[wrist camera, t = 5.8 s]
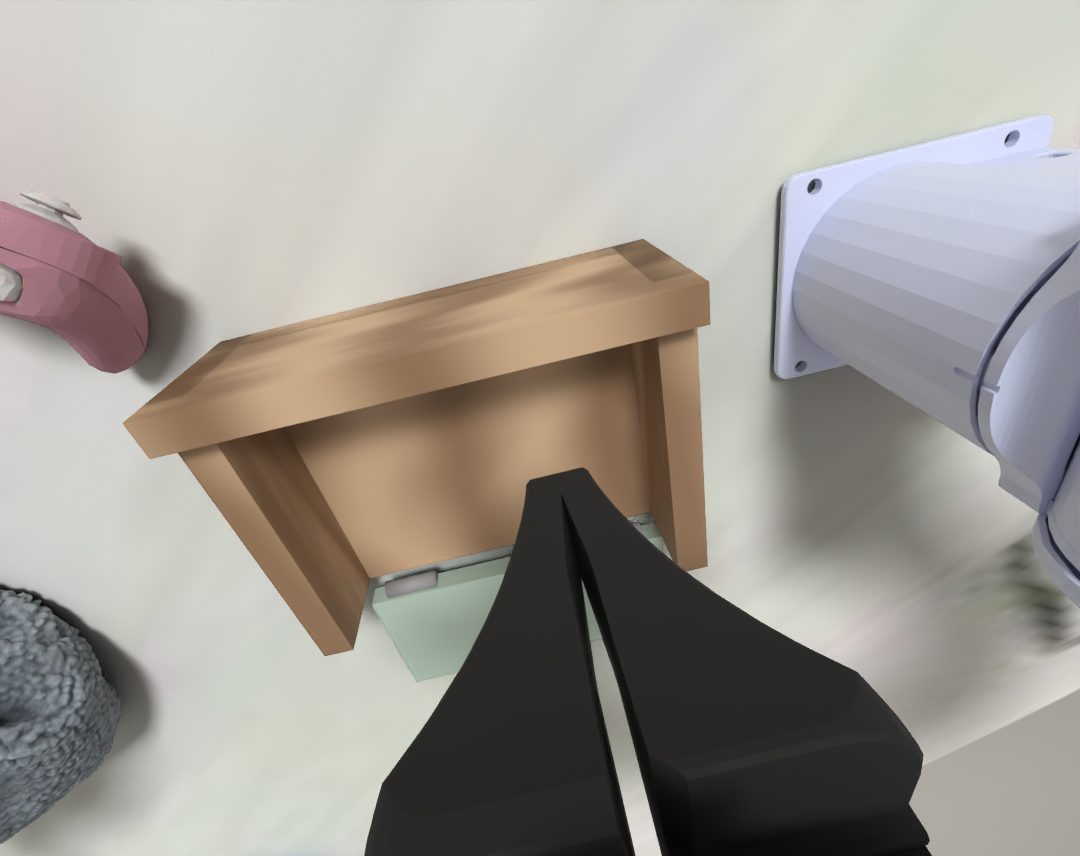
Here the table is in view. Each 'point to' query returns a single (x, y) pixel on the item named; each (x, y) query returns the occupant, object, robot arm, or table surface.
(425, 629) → the panel
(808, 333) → the robot arm
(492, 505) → the crate
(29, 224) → the video game controller
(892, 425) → the table surface
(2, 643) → the koala plush
